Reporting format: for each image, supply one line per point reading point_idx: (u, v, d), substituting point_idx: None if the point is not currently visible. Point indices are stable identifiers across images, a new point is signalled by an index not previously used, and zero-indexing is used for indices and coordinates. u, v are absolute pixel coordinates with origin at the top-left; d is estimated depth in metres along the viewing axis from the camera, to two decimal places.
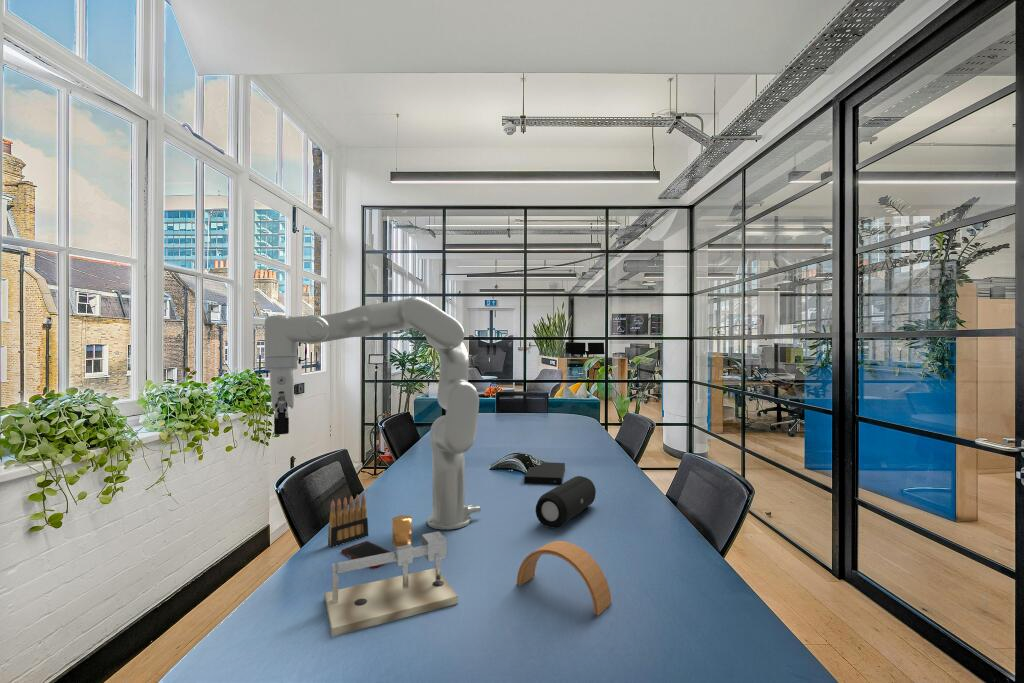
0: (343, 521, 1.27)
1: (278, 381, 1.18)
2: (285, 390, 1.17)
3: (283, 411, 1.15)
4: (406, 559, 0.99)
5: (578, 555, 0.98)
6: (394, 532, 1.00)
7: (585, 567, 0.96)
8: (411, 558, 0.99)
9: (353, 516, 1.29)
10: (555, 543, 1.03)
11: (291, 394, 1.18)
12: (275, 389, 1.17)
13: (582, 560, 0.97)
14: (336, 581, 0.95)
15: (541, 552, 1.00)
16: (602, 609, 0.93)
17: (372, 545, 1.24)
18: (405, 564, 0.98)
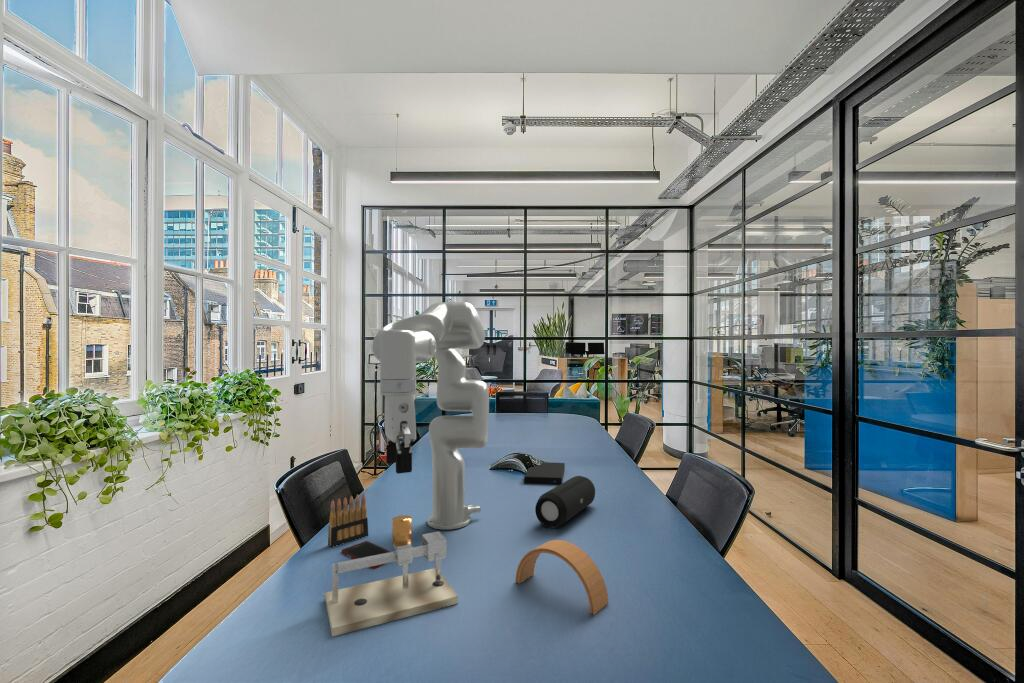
0: (343, 521, 1.27)
1: (399, 409, 0.98)
2: (408, 419, 0.98)
3: (408, 446, 0.95)
4: (406, 559, 0.99)
5: (575, 554, 0.98)
6: (394, 532, 1.00)
7: (582, 566, 0.96)
8: (411, 558, 0.99)
9: (353, 516, 1.29)
10: (553, 542, 1.03)
11: (414, 424, 0.98)
12: (397, 418, 0.97)
13: (579, 559, 0.97)
14: (336, 581, 0.95)
15: (539, 551, 1.01)
16: (598, 608, 0.94)
17: (372, 545, 1.24)
18: (405, 564, 0.98)
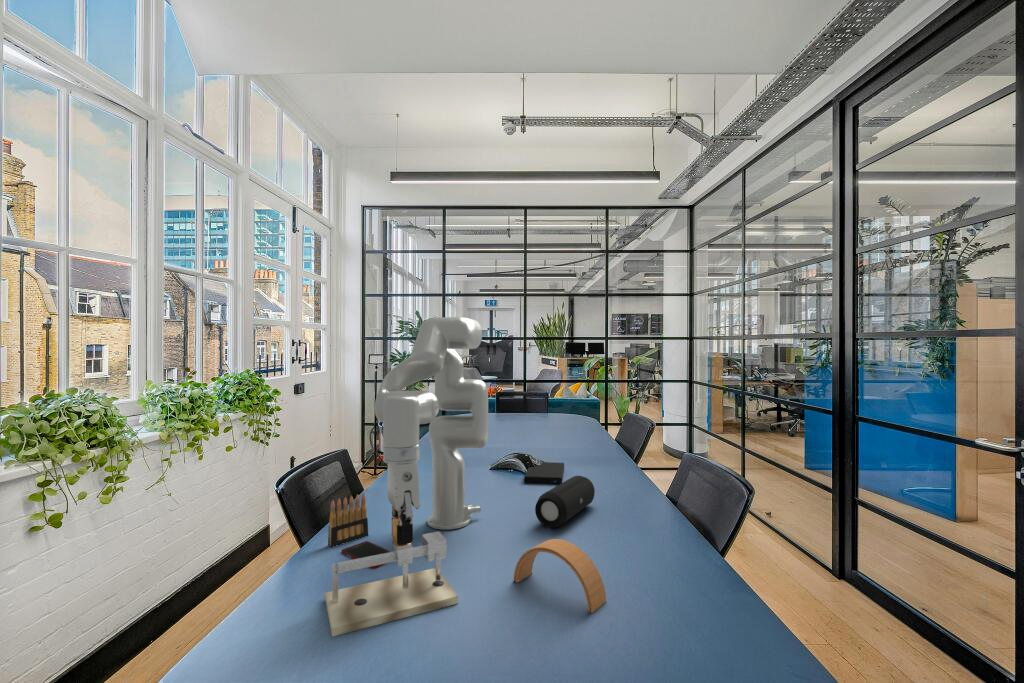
0: (343, 521, 1.27)
1: (402, 477, 0.98)
2: (412, 488, 0.97)
3: (409, 518, 0.97)
4: (406, 559, 0.99)
5: (573, 553, 0.99)
6: (394, 532, 1.00)
7: (580, 565, 0.97)
8: (411, 558, 0.99)
9: (353, 516, 1.29)
10: (551, 541, 1.04)
11: (418, 492, 0.98)
12: (401, 488, 0.96)
13: (577, 558, 0.98)
14: (336, 581, 0.95)
15: (537, 550, 1.02)
16: (596, 607, 0.94)
17: (372, 545, 1.24)
18: (405, 564, 0.98)
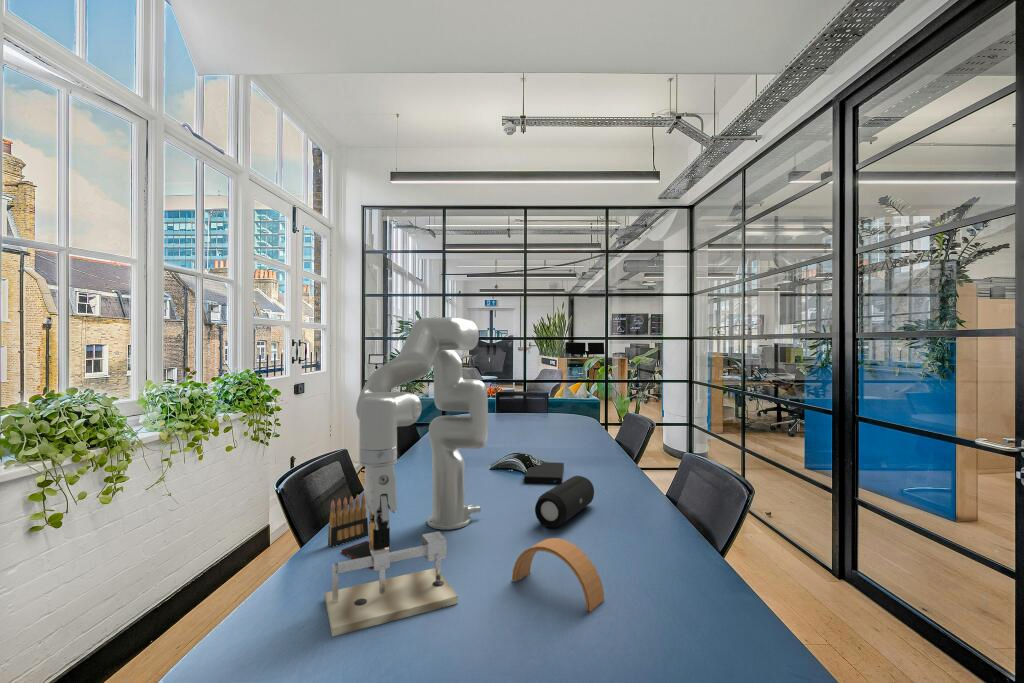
0: (343, 521, 1.27)
1: (379, 480, 0.96)
2: (388, 492, 0.95)
3: (386, 523, 0.95)
4: (383, 564, 0.97)
5: (571, 552, 0.99)
6: (371, 536, 0.98)
7: (578, 564, 0.97)
8: (388, 563, 0.97)
9: (353, 516, 1.29)
10: (549, 540, 1.04)
11: (395, 496, 0.96)
12: (377, 491, 0.94)
13: (575, 557, 0.98)
14: (336, 581, 0.95)
15: (535, 549, 1.02)
16: (594, 605, 0.95)
17: None
18: (382, 569, 0.96)
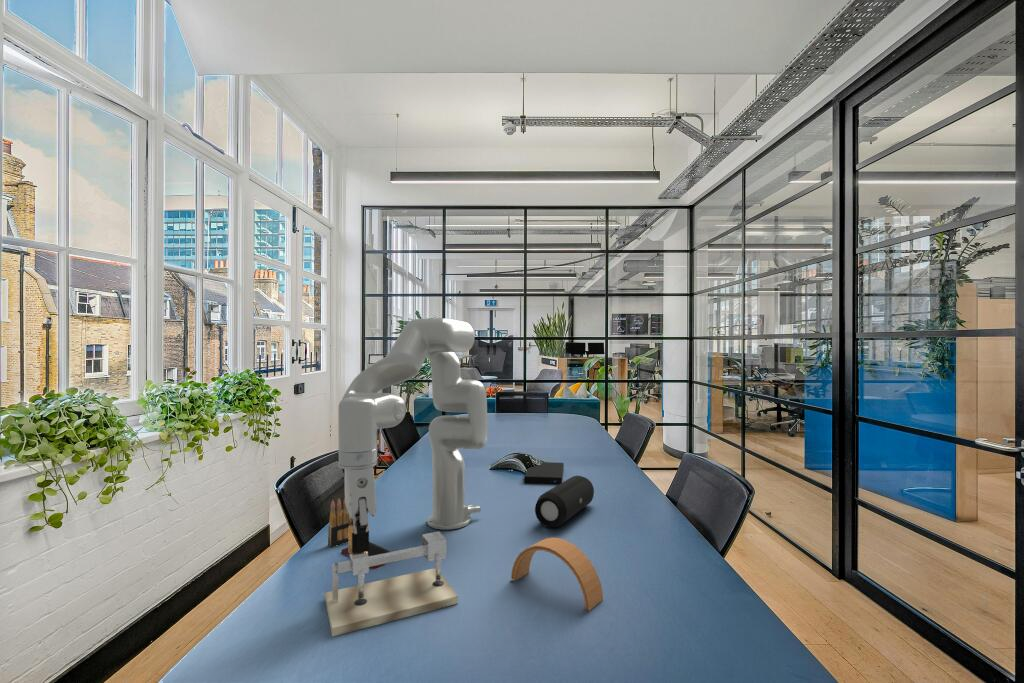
0: (343, 521, 1.27)
1: (357, 483, 0.94)
2: (367, 495, 0.93)
3: (364, 526, 0.93)
4: (362, 568, 0.95)
5: (570, 551, 1.00)
6: (350, 540, 0.96)
7: (577, 563, 0.97)
8: (367, 567, 0.95)
9: None
10: (548, 540, 1.04)
11: (374, 499, 0.94)
12: (355, 494, 0.92)
13: (574, 556, 0.99)
14: (336, 581, 0.95)
15: (534, 548, 1.02)
16: (593, 605, 0.95)
17: (372, 545, 1.24)
18: (360, 574, 0.94)
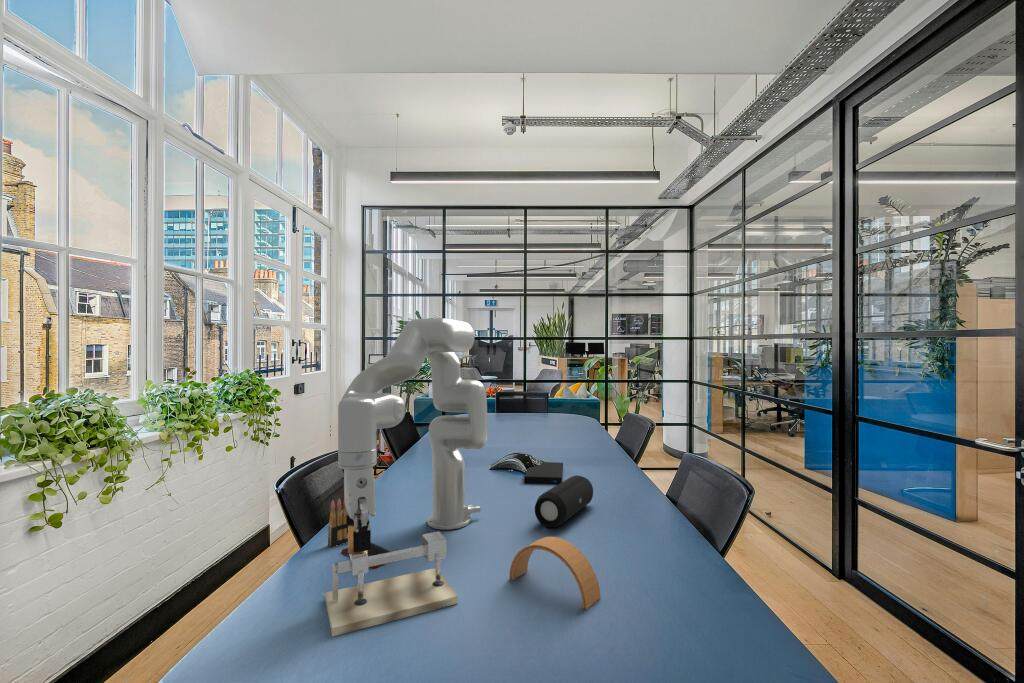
0: (343, 521, 1.27)
1: (357, 483, 0.94)
2: (366, 495, 0.93)
3: (366, 524, 0.91)
4: (361, 568, 0.95)
5: (568, 550, 1.00)
6: (349, 540, 0.96)
7: (574, 562, 0.98)
8: (367, 567, 0.95)
9: None
10: (546, 539, 1.05)
11: (373, 499, 0.94)
12: (354, 495, 0.92)
13: (572, 555, 0.99)
14: (336, 581, 0.95)
15: (532, 547, 1.03)
16: (591, 603, 0.95)
17: (372, 545, 1.24)
18: (360, 574, 0.94)
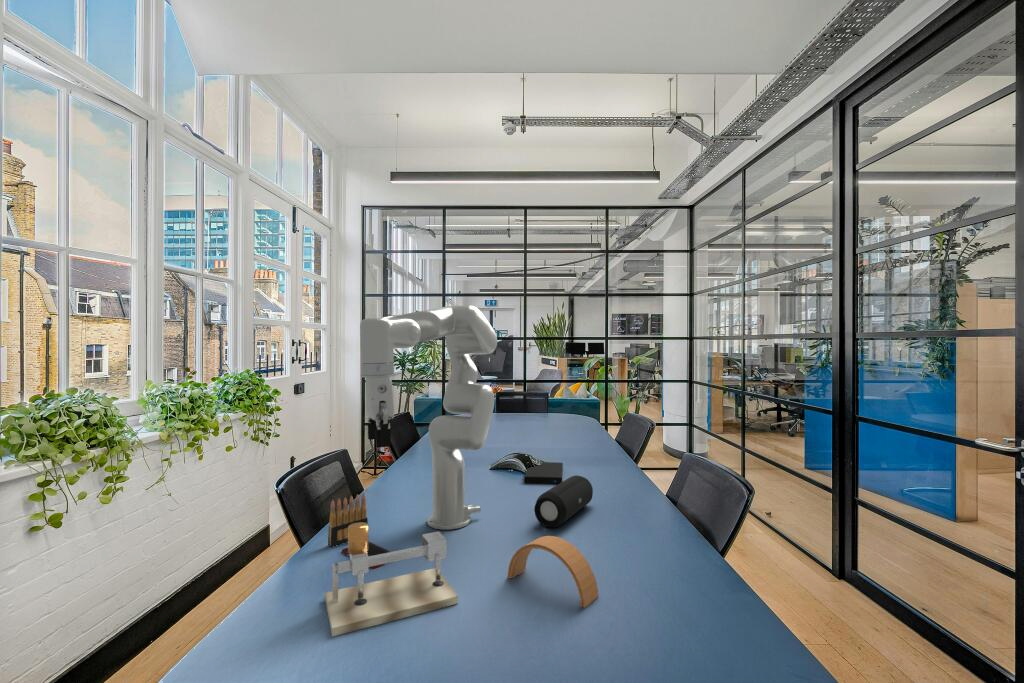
0: (343, 521, 1.27)
1: (378, 389, 1.09)
2: (386, 399, 1.08)
3: (387, 422, 1.06)
4: (361, 568, 0.95)
5: (566, 549, 1.01)
6: (349, 540, 0.96)
7: (573, 561, 0.98)
8: (367, 567, 0.95)
9: (353, 516, 1.29)
10: (545, 538, 1.06)
11: (392, 403, 1.09)
12: (376, 398, 1.07)
13: (570, 554, 1.00)
14: (336, 581, 0.95)
15: (531, 546, 1.03)
16: (589, 602, 0.96)
17: (372, 545, 1.24)
18: (360, 574, 0.94)
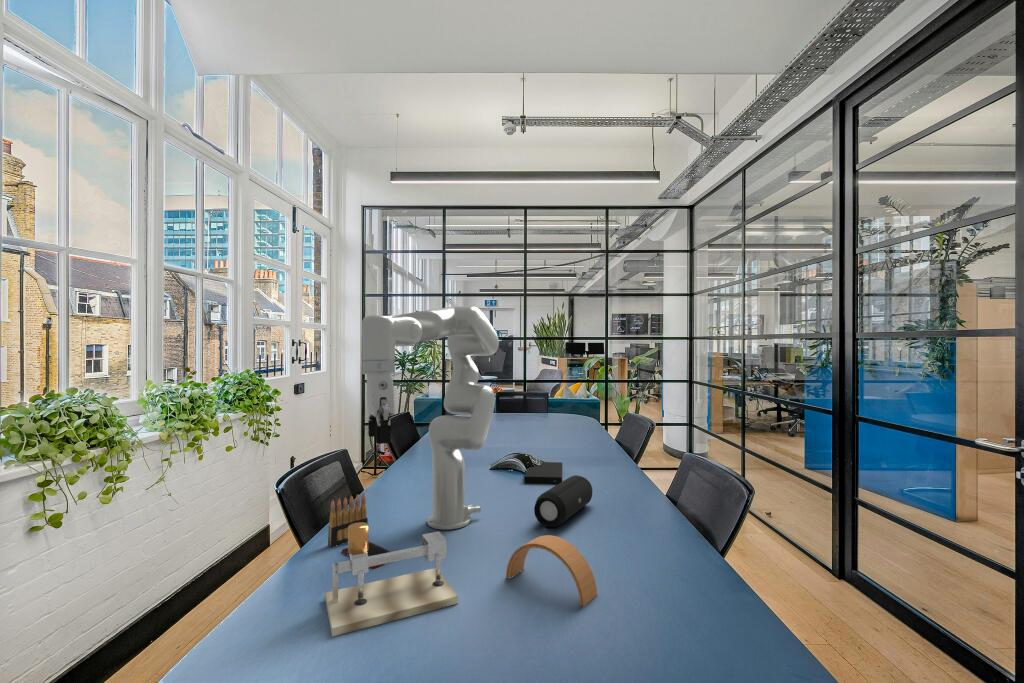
0: (343, 521, 1.27)
1: (379, 386, 1.09)
2: (387, 396, 1.09)
3: (387, 418, 1.07)
4: (361, 568, 0.95)
5: (565, 548, 1.01)
6: (349, 540, 0.96)
7: (571, 560, 0.99)
8: (367, 567, 0.95)
9: (353, 516, 1.29)
10: (543, 537, 1.06)
11: (392, 400, 1.10)
12: (377, 395, 1.08)
13: (569, 553, 1.00)
14: (336, 581, 0.95)
15: (529, 546, 1.03)
16: (588, 600, 0.97)
17: (372, 545, 1.24)
18: (360, 574, 0.94)
